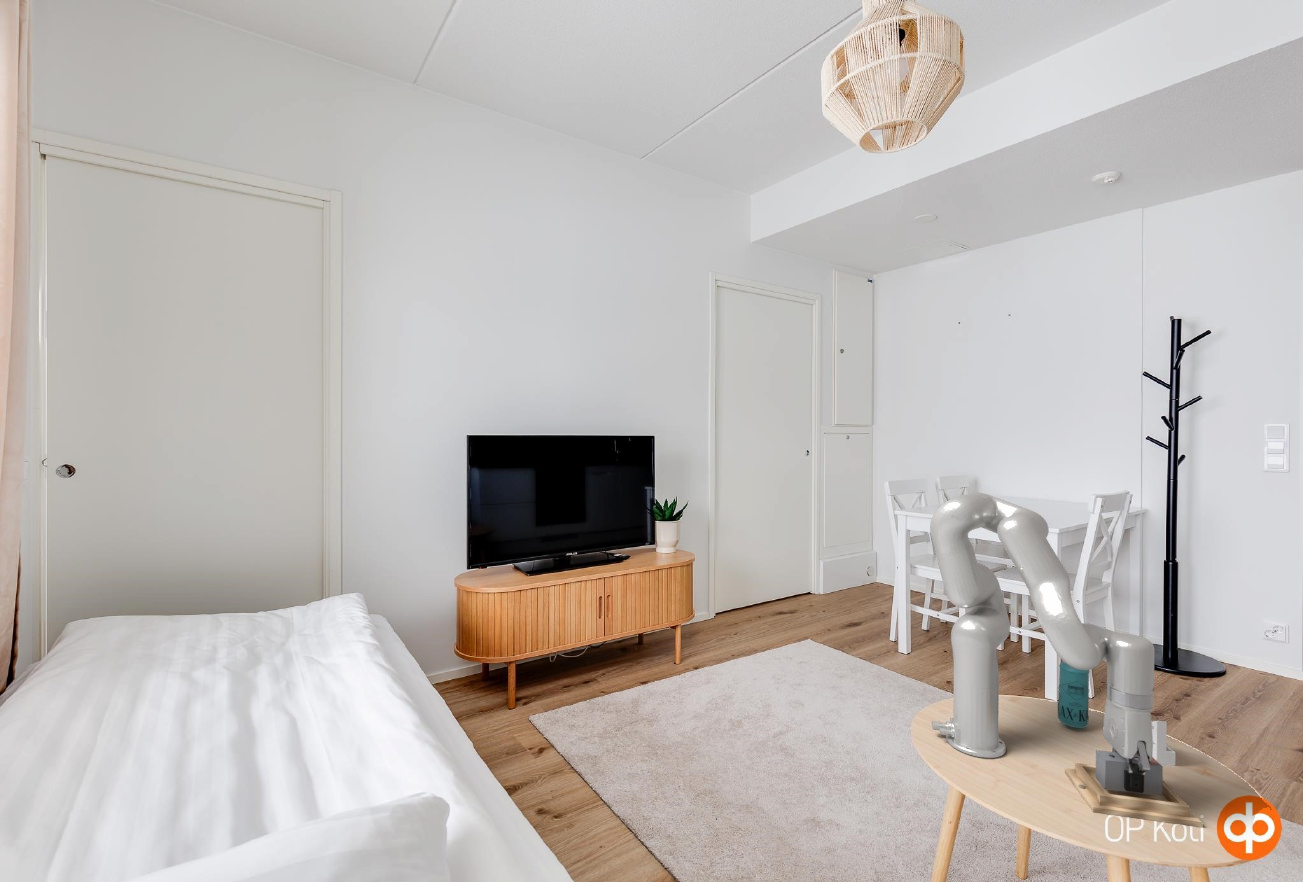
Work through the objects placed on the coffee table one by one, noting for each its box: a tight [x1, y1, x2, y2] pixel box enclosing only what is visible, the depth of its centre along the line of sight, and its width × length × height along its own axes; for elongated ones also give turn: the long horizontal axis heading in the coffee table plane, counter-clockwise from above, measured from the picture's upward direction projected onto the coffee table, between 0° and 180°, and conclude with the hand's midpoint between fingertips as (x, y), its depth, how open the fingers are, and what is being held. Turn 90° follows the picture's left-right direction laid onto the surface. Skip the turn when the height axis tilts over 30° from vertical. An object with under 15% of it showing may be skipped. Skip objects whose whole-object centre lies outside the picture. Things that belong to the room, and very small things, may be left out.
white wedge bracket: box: [1151, 720, 1176, 767], centre depth 138 cm, size 4×10×9 cm, turn 168°
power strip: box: [1095, 749, 1164, 796], centre depth 124 cm, size 10×4×6 cm, turn 77°
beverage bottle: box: [1057, 661, 1090, 729], centre depth 152 cm, size 6×7×20 cm
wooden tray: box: [1064, 762, 1203, 828], centre depth 124 cm, size 18×14×3 cm
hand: (1127, 783), depth 124 cm, fingers closed on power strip, 4 cm apart
